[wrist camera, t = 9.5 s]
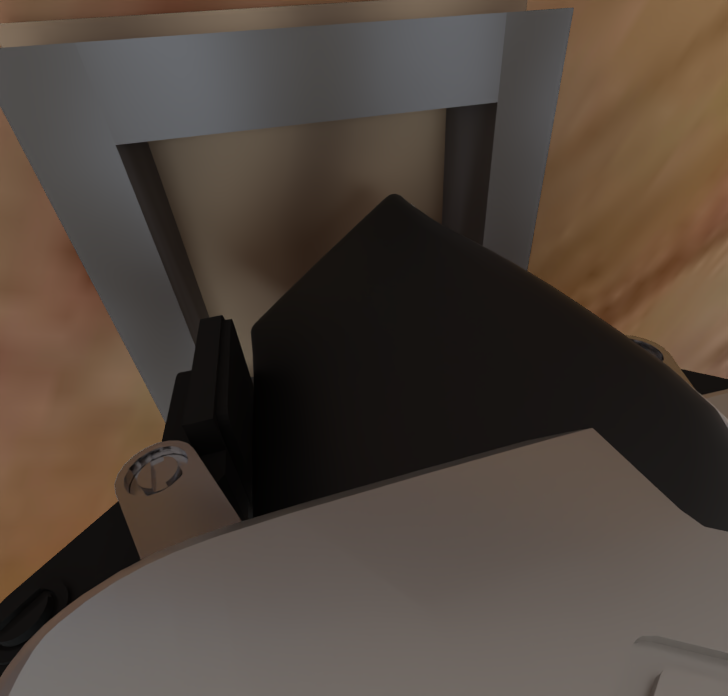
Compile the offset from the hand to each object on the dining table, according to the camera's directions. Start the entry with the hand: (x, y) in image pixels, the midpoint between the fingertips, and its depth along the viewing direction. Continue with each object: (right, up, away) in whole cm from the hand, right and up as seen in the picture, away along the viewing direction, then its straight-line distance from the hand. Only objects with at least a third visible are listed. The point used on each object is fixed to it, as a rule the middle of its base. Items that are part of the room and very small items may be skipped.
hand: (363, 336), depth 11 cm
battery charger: (0, +2, +3) cm, 3 cm away
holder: (-2, +4, +6) cm, 8 cm away
